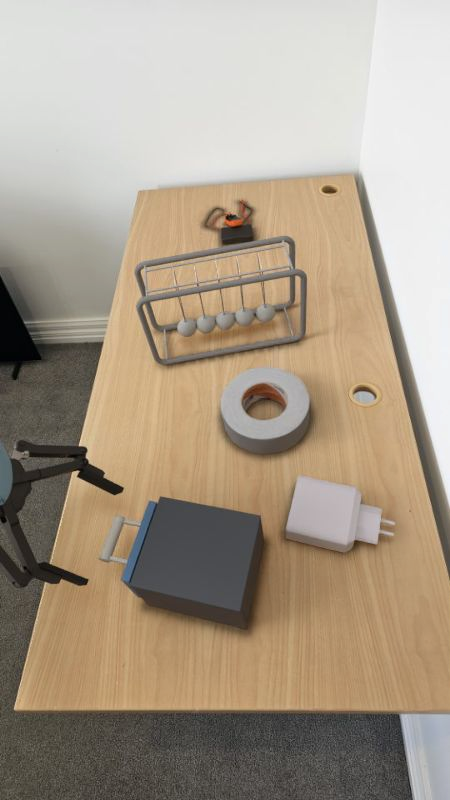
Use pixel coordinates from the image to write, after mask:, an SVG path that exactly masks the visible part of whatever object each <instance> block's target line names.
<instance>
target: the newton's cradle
mask: <svg viewBox="0 0 450 800" xmlns="http://www.w3.org/2000/svg"><path fill="white" fill-rule="evenodd" d="M281 243H282V244H281ZM277 244H279V245H277ZM286 244H288V248H287V245H286ZM272 245H274V246H272ZM265 246H269V247H265ZM259 247H263V248H259ZM254 248H256V249H254ZM257 248H259V249H257ZM280 248H284V252H285V255H286V258H287V260H288V264H286V265H280V266H273V267H269V268H265V269H263V267H262V262H261V259H260V256H259V252H263V251H268V250H274V249H280ZM249 249H252V250H249ZM243 250H246V251H243ZM238 251H240V252H238ZM234 252H236V253H234ZM228 253H230V254H228ZM253 253H256V254H257V263H258V270H253V271H249V272H248V271H247V272H243V273H241V269H240V264H239V261H238V256H242V255H248V254H253ZM221 254H225V255H221ZM215 255H219V256H215ZM212 256H214V257H212ZM205 257H206V258H205ZM208 257H209V258H208ZM230 257H231V258H232V257H235V259H236V261H235V262H236V267H237V274H231V275H226V276H225V275H224V276H220V277H219V271H218V265H217V260H220V259H226V258H230ZM199 258H202V259H199ZM203 258H204V259H203ZM194 259H195V260H194ZM196 259H198V260H196ZM190 260H193V261H190ZM184 261H186V262H184ZM211 261H214V264H215V270H216V276H217V277H214V278H209V279H204V280H199V279H198V274H197V270H196V264H199V263H204V262H211ZM177 262H181V263H177ZM173 263H176V264H173ZM167 264H171V265H167ZM161 265H165V266H161ZM187 265H193V269H194V274H195V281H193V282H186V283H182V284H178V280H177V275H176V272H175V268H176V267H182V266H187ZM156 266H160V267H156ZM150 267H151V268H150ZM152 267H155V268H152ZM147 268H148V269H147ZM171 268H172V273H173V281H174V284H175V285H170V286H166V287H165V286H164V287H160V288H155V289H149V288H148V273H149V272H154V271H155V272H156V271H159V270H160V271H161V270H166V269H171ZM286 268H289V269H287V270H281V269H286ZM142 270H143V273H144V278H143V275H142ZM275 270H281V271H275ZM270 271H275V272H270ZM264 272H270V273H264ZM254 274H259V275H254ZM248 275H253V276H248ZM134 276H135V279H136V283H137V286H138V288H139V291H140V294H141V298H139V299H138V300H137V301H136V304H135V309H136V312H137V315H138V318H139V321H140V324H141V326H142V329H143V332H144V335H145V338H146V341H147V343H148V347H149V349H150V352H151V355H152V357H153V360H154V361H155V363H156V364H159V365H163V366H169V365H174V364H179V363H185V362H191V361H196V360H201V359H207V358H212V357H213V358H214V357H218V356H223V355H224V356H225V355H228V354H235V353H240V352H246V351H250V350H251V351H252V350H258V349H262V348H269V347H274V346H279V345H284V344H291V343H296V342H298V341H300V340H302V339H303V338H304V337H305V336H306V332H307V304H308V303H307V302H308V301H307V299H308V276H307V273H306V272H305V271H304V270H302V269H299V268H296V242H295V240H294V238H292V237H290V236H288V235H281V236H280V235H279V236H275V237H268V238H264V239H258V240H253V241H248V242H240V243H237V244H236V243H235V244H230V245H225V246H219V247H215V248H209V249H203V250H198V251H192V252H188V253H182V254H176V255H171V256H165V257H160V258H155V259H148V260H144V261H141V262H139V263H137V264H136V266H135V267H134ZM243 276H248V277H243ZM237 277H238V278H237ZM296 277H299V278H300V299H299V303H300V304H299V309H300V310H299V332H298V333H297V334H296V335H295V334H294V331H293V327H292V323H291V321H290V318H289V314H288V311H287V309H289V308H291V307H293V305H294V304H295V302H296ZM233 278H236V279H233ZM284 278H285V279H286V278H289V300H288V301H287V302H285V303H279V304H275V305H271V304H270V303H266V295H265V283H264V282H268V281H273V280H278V279H284ZM225 279H226V281H221V280H225ZM227 279H232V280H227ZM216 281H217V282H216ZM210 282H211V283H210ZM212 282H215V283H212ZM204 283H205V284H204ZM206 283H209V284H206ZM257 283H260V285H261V293H262V301H263V303H262V304H260V305H259V306H258V307H257V308H253V309H250V308H248V307H245V305H244V304H245V302H244V294H243V293H244V291H243V286H246V285H251V284H257ZM200 284H204V285H200ZM193 285H196V286H194V287H188V286H193ZM183 287H188V288H183ZM235 287H239V289H240V290H239V291H240V298H241V304H242V307H241V308H239V309H237V311H236V312H231V311H229V310H225V307H224V300H223V295H222V290H224V289H230V288H235ZM179 288H181V289H179ZM172 289H175V290H172ZM167 290H172V291H167ZM161 291H165V292H161ZM213 291H219V295H220V299H221V300H220V301H221V305H222V306H221V307H222V311H220V312H219V313H218V314H217V315H215V316H214V315H213V316H212V315H210V314H205V309H204V304H203V299H202V295H201V294H202V293H208V292H213ZM156 292H159V293H156ZM150 293H155V294H150ZM149 294H150V295H149ZM197 294H198V296H199V300H200V304H201V308H202V314H201V316H199V317H198V318H197V319H192V318H191V317H185V311H184V308H183V307H184V306H183V302H182V298H181V297H186V296H191V295H197ZM175 298H177V299H178V302H179V306H180V310H181V313H182V316H183V317H182V319H180V320H179V322H176V323H175V322H174V323H170V324H164V325H160V324H158V323H157V319H156V317H155V314H154V309H153V307H152V303H153V302H158V301H163V300H169V299H175ZM144 307H145V309H146V313H147V315H148V318H149V321H150V324H151V327H152V328H153V329H154V330H156V331H159V332H163V336H164V337H163V338H164V350H165V358H162V357H160V355H159V352H158V349H157V346H156V343H155V339H154V337H153V334H152V331H151V327H150V325H149V322H148V319H147V317H146V314H145V311H144ZM282 310H283V311H284V314H285V317H286V321H287V324H288V328H289V330H290V334H291V336H286V337H282V338H275V339H270V340H265V341H259V342H254V343H248V344H243V345H238V346H237V345H236V346H231V347H225V348H221V349H214V350H210V351H204V352H199V353H193V354H187V355H181V356H176V357H170V358H169V353H168V341H167V332H168V331H173V330H177V332H178V333H179V335H180V336H182V337H184V338H190V337H192V336H194V335H195V334H196V332H197V330H198V331H199V332H200V333H201V334H206V335H207V334H211V333H213V332H214V330H215V329H216V326H217V328H219V330H222V331H229V330H230V329H232V328H233V327H234V326H235V324H237V325H238V326H240V327H243V328H247V327H249V326H250V325H252V324H253V322H254V320H255V316H256V318H257V320H258V321H259V322H261V323H262V324H263V323H264V324H269V323H271V322H273V320H274V319H275V317H276V312H277V311H282Z"/></svg>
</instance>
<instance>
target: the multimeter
mask: <svg viewBox="0 0 450 800" xmlns="http://www.w3.org/2000/svg"><path fill="white" fill-rule="evenodd" d="M238 202H239V203H241V212H243V211H244V207H246V208H247V209H248V210H250V213H249V215H247V216H246V215H244V214H242V216H243V218H244V217H245V219H244V220H243V218H241V217H239V216H238V215H236V214H234V213H233V214H232V213H231V212H230V211H227V212H224V209H223V208H220V207H216V208H214V209H213V210H212V211H211V212H210V214H209V215H208V217H207V218H206V221H205V223H204V224H205V225H204V226H205V227H207V228H213V229H216V230H218V231H220V235H221V243H222V245H229V244H230V245H231V244H236V243H237V244H239V243H247V242H252V241H254V234H253V233H254V232H253V226H252V224H250V223H251V219H250V215H251V214H252V213H253V212H252V209H251V207H250V206H248V205H246V204H245V203H244V198H243V197H242V199H241V201H240V200H238ZM217 209H219V210H221V211H222V213H220V214H219V215H217V216H216V217H215V218H214V220H213V221H212V223H211V224H210V225H209V226H208V225H207V221H208V220H209V218H210V216H211V215H212V214H213V212H214V211H215V210H217ZM221 215H222V216H224V223H225V224H226V225H228V226H223V227H220V228H217V227H215V226H212V225H214V222H216V220H217V218H218V217H219V216H221ZM246 220H249V222H248V223H247V224H243V223H244V222H246Z"/></svg>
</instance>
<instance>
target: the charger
mask: <svg viewBox="0 0 450 800" xmlns="http://www.w3.org/2000/svg"><path fill="white" fill-rule="evenodd" d="M361 500H362V493H361V492H360V490H359V489H358V487H357V486H352V485H349V484H348V485H347V484H344V483H339V482H334V481H329V480H323V479H319V478H314V477H311V476H310V477H309V476H305V475H300V474H298V476H297V479H296V483H295V488H294V492H293V496H292V501H291V505H290V509H289V513H288V517H287V522H286V528H285V539H286V540H290V541H294V542H299V543H303V544H306V545H311V546H314V547H319V548H323V549H326V550H331V551H335V552H338V553H339V552H340V553H343V554H346V553H347V552H349V551H350V550H352V549H353V548H354V544H355V541H358V542H359V541H360V542H363V543H369V544H373V545H378V542H379V541H378V540H379V536H380V535H379V534H381V535H384V536H389V537H394V536H395V533H394V532H391V531H387V530H383V529H380V527H381V523H382V524H387V525H390V526H395V525H396V521H394V520H393V521H392V520H388V519H385V518H384V519H383V518H382V507H378V506H375V505H374V506H373V505H370V504H369V505H368V504H366V503H365V504H364V503H361Z"/></svg>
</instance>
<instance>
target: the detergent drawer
mask: <svg viewBox="0 0 450 800" xmlns="http://www.w3.org/2000/svg"><path fill="white" fill-rule="evenodd" d="M157 504H158V501H153V500H148V502H147V505H146V507H145V510H144V513H143V516H142V519H141V521H139V520H134V519H129V518H126V517H125V516H123V515H121V514H115V515H114V517H113V519H112V523H111V525H110V528H109V530H108V533H107V535H106V538H105V540H104V543H103V546H102V548H101V550H100V553H99V556H98V560H99V561H101V562H103V563H110V562H113V563H118V564H122V565H125V567H124V569H123V572H122V575H121V578H120V581H121V582H122V583H123V584H124V585H125V586H126V587H127V589H129V590H130V591H131V592H132V593H133V594H134V595H135V596H136V597H137V598H138V599H142V598H141V597H140V596H139V595H138V594H137V593H136V592H135V591H134V590H133V589H132V588H131V587H130V582H131V579H132V576H133V574H134V571H135V568H136V565H137V562H138V559H139V556H140V553H141V550H142V547H143V544H144V541H145V539H146V536H147V533H148V530H149V527H150V524H151V521H152V518H153V515H154V512H155V509H156V506H157ZM124 525H128V526H132V527H138V529H137V533H136V536H135V538H134V542H133V544H132V547H131V550H130V552H129V556H128V558H123V557H119V556H115V555H113V554H114V551H115V548H116V545H117V543H118V541H119V538H120V535H121V532H122V530H123V527H124Z"/></svg>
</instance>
